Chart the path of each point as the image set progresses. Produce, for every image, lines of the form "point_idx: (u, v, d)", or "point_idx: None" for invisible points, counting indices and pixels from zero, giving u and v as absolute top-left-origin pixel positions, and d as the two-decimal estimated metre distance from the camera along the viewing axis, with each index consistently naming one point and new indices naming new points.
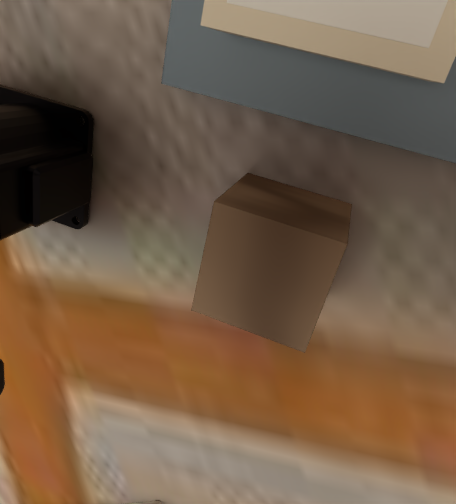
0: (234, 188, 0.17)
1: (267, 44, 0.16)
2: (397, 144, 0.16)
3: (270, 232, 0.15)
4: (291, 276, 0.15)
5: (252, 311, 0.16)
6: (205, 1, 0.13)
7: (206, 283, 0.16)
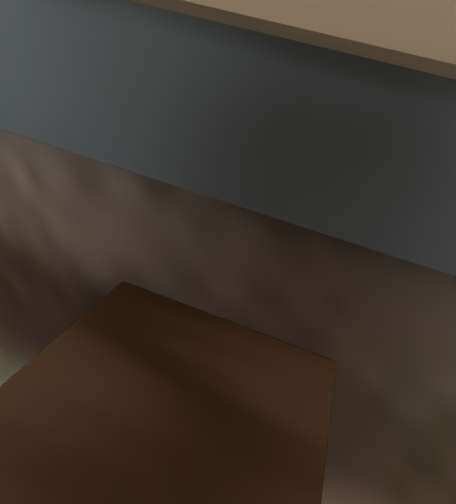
0: (39, 362, 0.07)
1: (107, 0, 0.06)
2: (452, 268, 0.06)
3: None
4: None
5: None
6: None
7: None
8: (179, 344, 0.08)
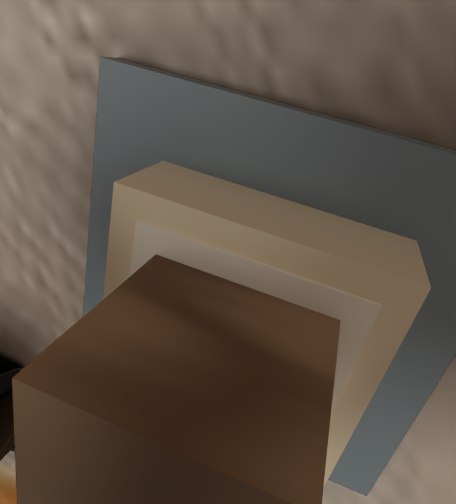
0: (97, 312, 0.08)
1: None
2: None
3: (140, 457, 0.06)
4: None
5: None
6: None
7: None
8: (208, 303, 0.09)
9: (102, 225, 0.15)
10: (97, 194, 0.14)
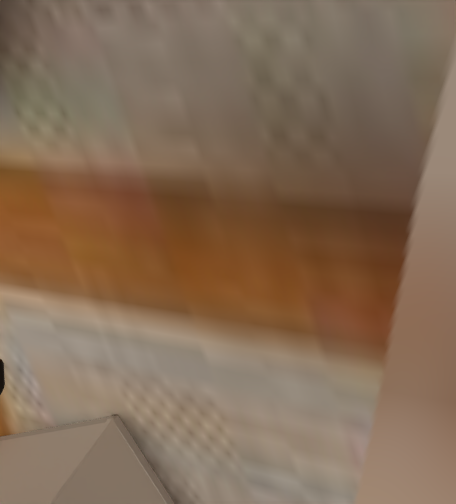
0: None
1: None
2: None
3: None
4: None
5: None
6: None
7: None
8: None
9: None
10: None
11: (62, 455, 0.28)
